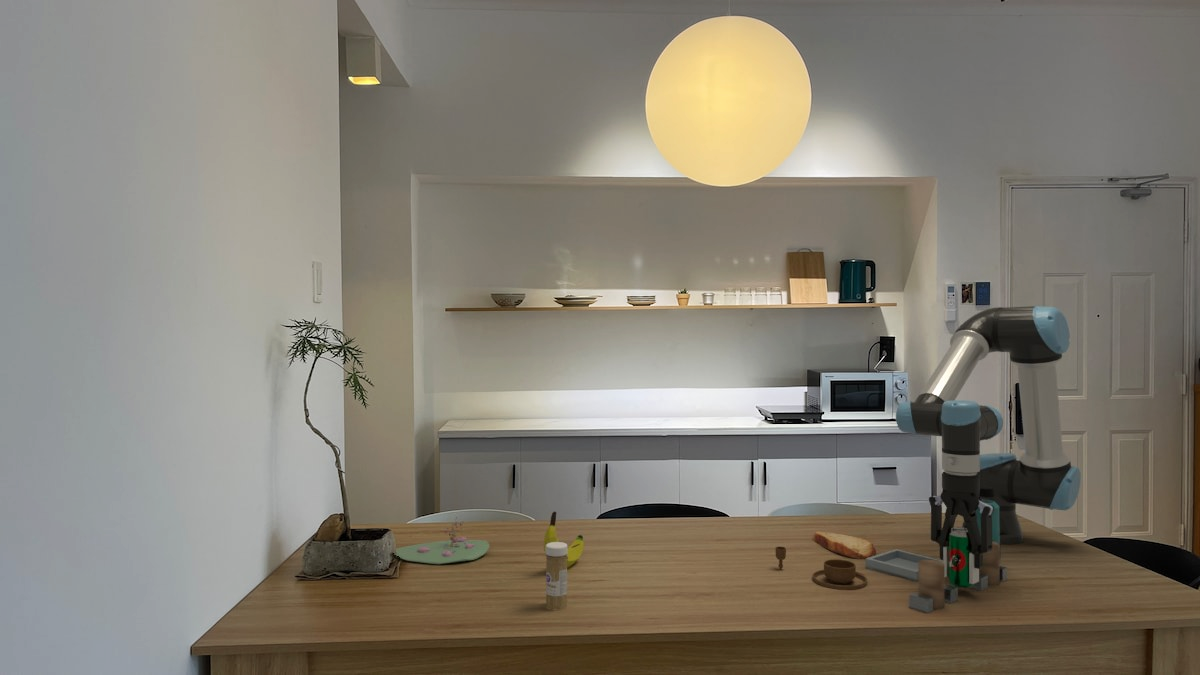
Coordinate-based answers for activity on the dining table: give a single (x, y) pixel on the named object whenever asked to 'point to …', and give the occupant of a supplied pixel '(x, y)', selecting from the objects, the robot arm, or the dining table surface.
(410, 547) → the plant
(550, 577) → the sprinkles bottle
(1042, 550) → the dining table surface
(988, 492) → the beverage bottle
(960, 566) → the soda can
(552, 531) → the banana
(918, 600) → the clip rack
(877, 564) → the tray
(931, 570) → the dowel near
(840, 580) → the place setting
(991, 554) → the dowel far
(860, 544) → the bread slice
